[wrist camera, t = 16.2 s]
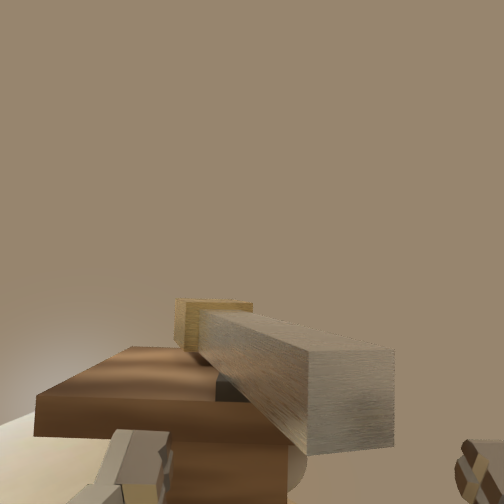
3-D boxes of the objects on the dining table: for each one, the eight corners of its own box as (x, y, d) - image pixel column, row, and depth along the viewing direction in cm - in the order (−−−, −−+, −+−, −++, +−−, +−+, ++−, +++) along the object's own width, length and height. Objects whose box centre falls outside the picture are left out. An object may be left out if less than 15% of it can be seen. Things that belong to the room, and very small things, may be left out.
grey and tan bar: (420, 443, 13) (420, 333, 13) (274, 459, 11) (277, 334, 12) (230, 339, 36) (232, 299, 36) (173, 339, 34) (175, 298, 35)
